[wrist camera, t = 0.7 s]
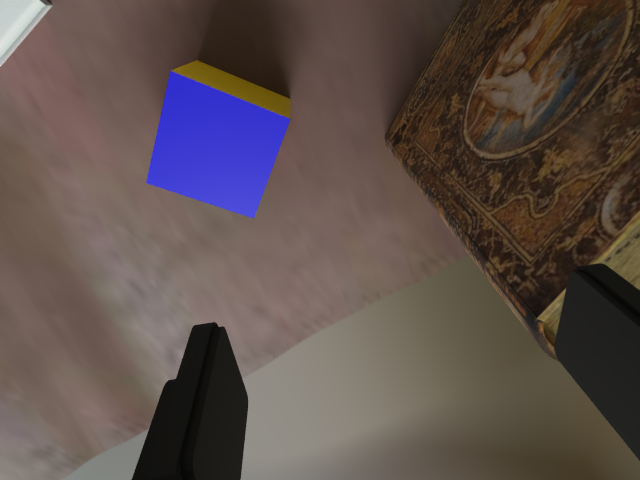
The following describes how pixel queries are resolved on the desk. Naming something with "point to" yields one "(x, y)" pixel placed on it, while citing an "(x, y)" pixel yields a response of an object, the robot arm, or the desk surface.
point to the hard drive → (18, 22)
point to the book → (532, 145)
